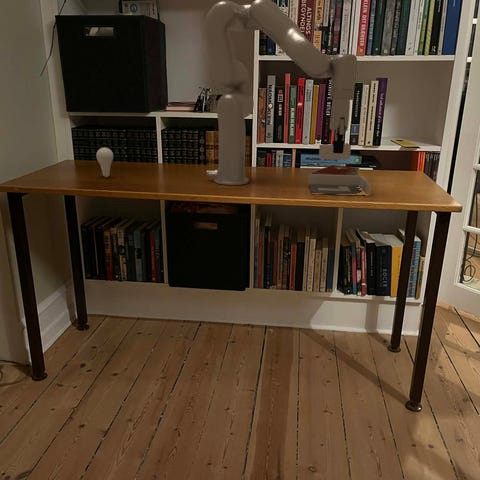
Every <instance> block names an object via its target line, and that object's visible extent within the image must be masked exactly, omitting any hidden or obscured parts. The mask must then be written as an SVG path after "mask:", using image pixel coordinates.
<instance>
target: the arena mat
mask: <svg viewBox="0 0 480 480" xmlns="http://www.w3.org/2000/svg"><path fill="white" fill-rule="evenodd" d="M309 187H310V188H309ZM357 187H359V186H353V185H322V184H309V186H308V188H309V190H311V191H310V193H311V192H312V193H323V194H357V193H360V192H362V191H361V190H359V189H360V188H361V187H360V188H357Z"/></svg>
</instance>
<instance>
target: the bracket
mask: <svg viewBox="0 0 480 480" xmlns="http://www.w3.org/2000/svg"><path fill="white" fill-rule="evenodd" d="M318 149H319V150H318V153H319V155H318V158H319V159H318V160H351V150H352V146H351V144H349V143H347V142H346V143H345V142H344V149H343V153H333V149H334V145H333V144H319V147H318Z"/></svg>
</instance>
